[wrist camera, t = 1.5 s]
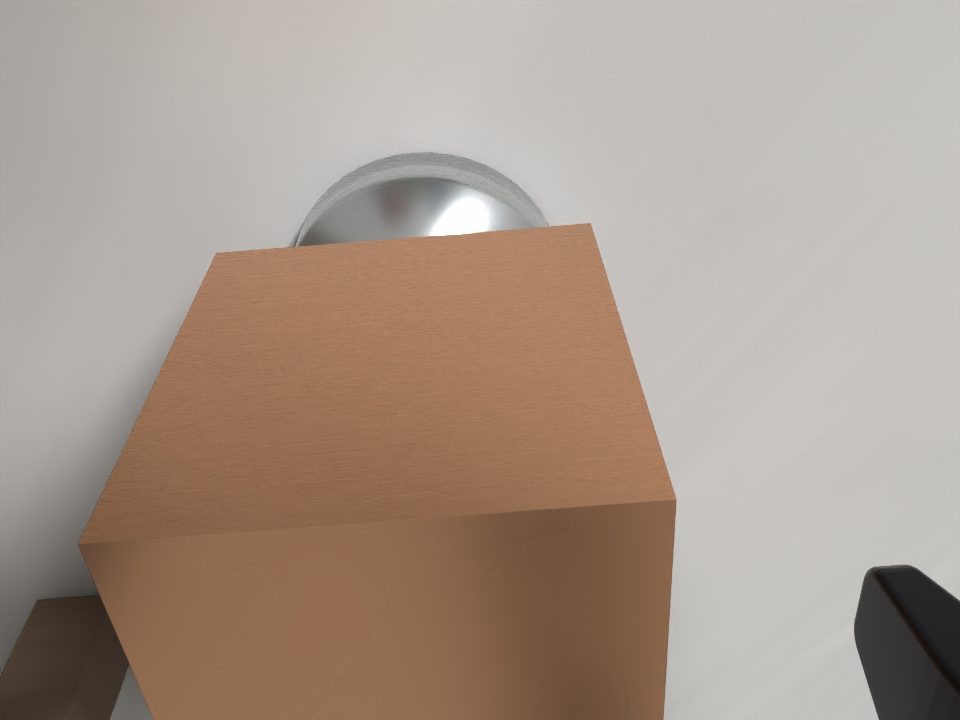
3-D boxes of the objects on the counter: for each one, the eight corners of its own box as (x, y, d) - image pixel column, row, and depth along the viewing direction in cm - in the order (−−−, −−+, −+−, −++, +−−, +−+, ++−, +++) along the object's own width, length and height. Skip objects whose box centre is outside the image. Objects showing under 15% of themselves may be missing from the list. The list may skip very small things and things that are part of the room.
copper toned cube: (568, 383, 16) (656, 831, 9) (313, 403, 16) (216, 862, 10) (563, 134, 14) (675, 500, 7) (261, 158, 14) (77, 543, 7)
